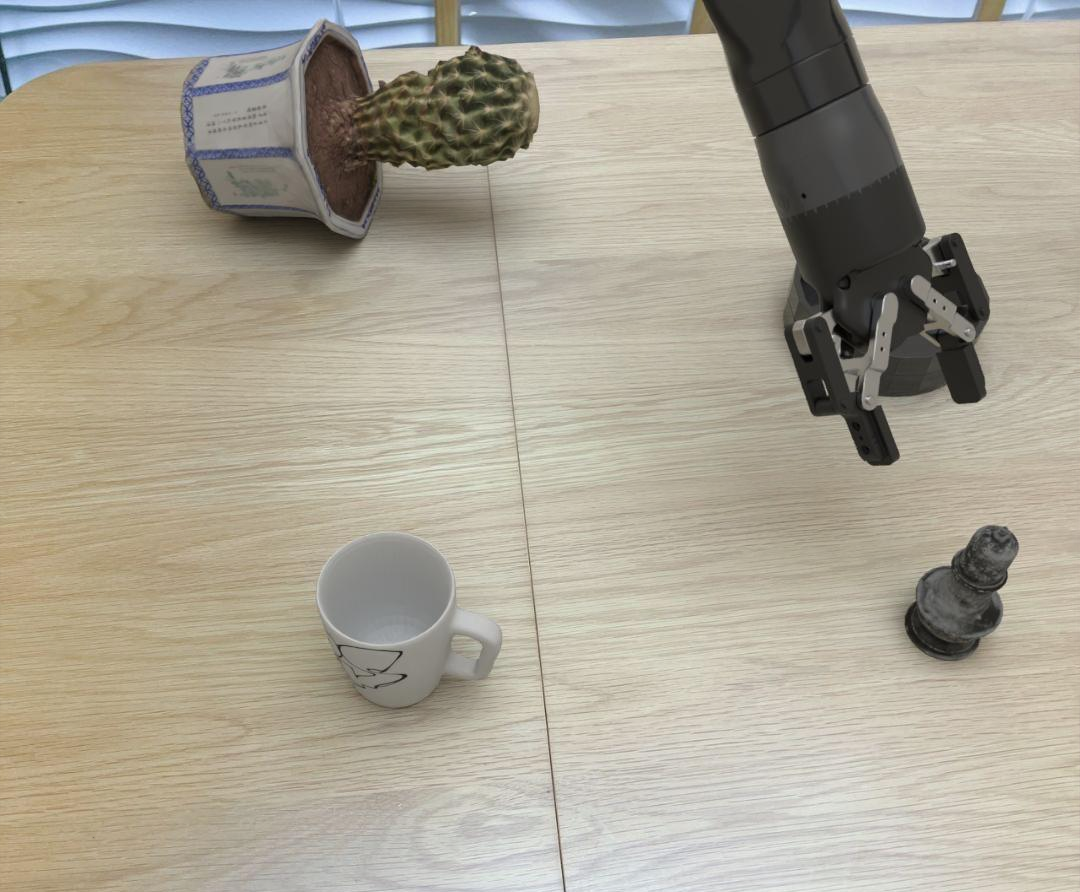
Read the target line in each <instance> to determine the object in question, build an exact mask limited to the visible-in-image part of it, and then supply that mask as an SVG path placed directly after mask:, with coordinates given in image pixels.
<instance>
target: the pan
mask: <svg viewBox="0 0 1080 892" xmlns="http://www.w3.org/2000/svg"><path fill="white" fill-rule="evenodd" d="M928 239H929V237H925V236H923V238H922V239H921V240H920V241H919V244H920V243H921V242H922V241H924V240H928ZM976 275H977V277H978V280H979V282H980V285H981V287H982V290H983V293H984V295H985V298H986V300H987V303H988V305H989V306H990V305H991V304H990V302H991V301H990V295H989V293H988V291H987V288H986V286H985V284H984V282H983V280H982V278H981V276H980V275H979V273H977V272H976ZM931 286H932V288H933V285H932V283H931ZM933 289H934V288H933ZM956 293H957V295H958V298H959V300H960V303H961V305H962V306H964V305H967V303H966V301H965V298H964V296H963V293H962V292H961V291H958V290H957V291H956ZM818 313H820V302H819V295H818V293H817V291H816V290H815V288H814V287H813V286H811V285H810V284H809V283H807V282H806V281H805V280H804V279H803V278H802V275H801V273H800V270H799V267H798V265H797V262H796V261H795V266H794V269H793V272H792V277H791V280H790V284H789V287H788V290H787V294H786V299H785V303H784V308H783V313H782V315H783V316H782V320H783V328H785V326H786V325H787V324H788V323H790V322H795V321H800V320H805V319H808V318H810V317H812V316H814V315H816V314H818ZM989 319H990V317H989V318H988V319H987V320H986V321H981V322H979V324H978V325H977V327H976V328H975V331H976V335H975V338H974V340H973V341H972V342H973V345H974V348H976V346H977V344H978V343H979V340H980V338H981V336H982V334H983V333H984V330H985V328H986V326H987V324H988V322H989ZM833 334H834V333H833ZM834 345H835V343H834ZM939 350H941V346H940V347H938V346H936V345H934V344H933V343H932V342H930V341H929V340H927V339H926V338H925V337H923V336H922V335H920V334H918V335H914V336H910V337H907V339H906V340H905V341H904V342H903V343H902V345H901V346H900V347H898V348H897V349H895V350H894V351H891V352H889V360H888V366H887V369H886V370H885V371H884V372H883V373H882V374H881V376H880V383H879V391H878V396H882V397H910V396H911V397H912V396H916V395H917V396H918V395H922V394H923V395H924V394H926V393H930V392H933V391H936V390H937V389H941V388H943V387H944V386H947V384H946V381H945V378H944V375H943V373H942V370H941V367H940V364H939V361H938V359H937V356H936V352H938V351H939ZM864 355H866V354H864V353H861V352H859V351H858V350H856V349H855V353H854V358H858V357H863V356H864ZM859 377H860V375H859V376H858V377H857V380H856V387H855V391H858V385H859Z"/></svg>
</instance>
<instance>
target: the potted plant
mask: <svg viewBox="0 0 1080 892" xmlns="http://www.w3.org/2000/svg"><path fill="white" fill-rule="evenodd" d="M534 75H535V74H534V72H532V71H528V72H525V70H524V69H523V67H522V65H521V64H520V63H519V62H518V61H517V59H516V58H511V57H506V56H503V55H501V54H500V55H499V54H495V53H490V52H487V51H483V50H482V49H481V48H480V47H479V46H476V45H473V44H471V45H470V46H469V48H468V50H466V51H464V55H456V56H454V57H451V58H450V59H448V60H439V61H438V62H437V63H436V65H435V67H433V68H430V69H429V70H427V75H425V74H423V73H421V72H418V71H416V70H411V71H408V72H405V73H401V74H399V75H398V76H397V77H396V78H394V79H393V80H391V81H390V82H388V83H387V82H386V81H385V80H383V79H380V80H377V82H378V88H377V89H376V90H375V91H374V87H373V83H372V81H371V77H370V74H369V71H368V67H367V64H366V62H365V58H364V55H363V52H362V50H361V46H360V44H359V41H358V40H357V39H356V38H355V37H354V35H353V34H352V33H351V32H349V31H348V30H347V28H345V27H343V26H342V25H340V24H338V23H336V22H333V21H330V20H329V19H328V18H326V17H325V18H319V19H318V20H317V21H316V22H315V23H314V25H313V26H312V27H311V28H310V29H309V31H308V32H307V33H306V34H305V36H304V37H303V38H301V39H299V40H297V41H294V42H292V43H288V44H285V45H281V46H278V47H273V48H268V49H260V50H255V51H251V52H242V53H241V52H240V53H233V54H221V55H215V56H209V57H205V58H203V59H201V60H199V61H198V62H197V63H195V64H194V65H193V66H192V67H191V69H190V71H189V73H188V74H187V76H186V77H185V79H184V80H183V85H182V88H181V92H180V106H179V107H180V108H179V111H180V113H179V114H180V124H181V129H182V134H183V141H182V143H183V148H184V153H185V155H184V163H185V165H186V167H187V169H188V171H189V173H190V176H192V178H193V180H194V181H195V183H196V186H197V188H198V192H199V193H200V196H201V199H202V200H203V202H204V204H206V206H207V207H208V208H209V209H210V211H213V212H217V213H222V214H225V215H229V216H230V215H231V216H236V217H260V218H261V217H263V218H264V217H265V218H272V217H274V218H276V217H277V218H278V217H288V218H290V217H294V218H312V219H317V220H319V221H321V222H322V223H323V224H324V225H325V226H326V227H327V228H329V229H330V230H331V231H332V232H334V233H337V234H340V235H343V236H345V237H350V238H352V239H358V240H359V239H362V238H364V237H365V236H366V235H367V233H368V230H369V228H370V225H371V222H372V221H373V220H374V216H375V215H374V214H375V211H376V210H378V207H379V204H380V199H381V195H382V191H383V179H384V178H383V177H384V176H383V164H386V163H389V164H390V165H391V166H392V167H394V168H398V169H399V168H400V166H402V165H404V164H405V163H407V164H409V165H410V166H412V168H414V169H415V168H418V167H422V168H424V169H425V170H426V172H431V171H438V170H445V169H449V168H450V167H452V166H455V167H467V166H470V165H471V166H475V167H477V166H479V165H480V166H481V167H488V166H489V165H491V164H494V163H496V162H506V161H507V160H509V159H514V157H515V156H516V153H517V151H518V150H520V149H521V150H525V151H527V150H528V149H529V148H530V144H531V143H533V142H534V135H535V134H536V133H537V132H538V129H539V122H540V112H541V107H540V97H539V91H538V87H537V83H536V79H535V76H534Z"/></svg>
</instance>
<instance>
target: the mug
mask: <svg viewBox="0 0 1080 892" xmlns="http://www.w3.org/2000/svg"><path fill="white" fill-rule="evenodd" d="M456 583H457V582H456V577H455V574H454V571H453V568H452V566H451V564H450V562H449V561H448V559H447V557H446V556H445V554H444V553H442V552H441V550H440V549H438V548H437V547H436V546H434V545H433V544H432V543H431V542H429V541H427V540H426V539H423V538H422V537H419V536H416V535H414V534H411V533H407V532H400V531H378V532H373V533H369V534H365V535H362V536H358V537H357V538H354V539H352V540H350V541H349V542H347V543H345V544H343V545H342V546H341V547H339V548H338V549H337V550H336V551H335V552H334V553H333V554H332V555H331V556H330V557H329V559H328V560H327V561H326V562H325V564H324V566H323V567H322V569H321V571H320V573H319V575H318V579H317V582H316V585H315V603H316V608H317V612H318V616H319V618H320V621H321V623H322V626H323V629H324V632H325V634H326V636H327V639H328V642H329V644H330V647H331V649H332V651H333V654H334V656H335V658H336V659H337V661H338V663H339V665H340V666H341V668H342V669H343V671H344V672H345V674H346V675H347V677H348V679H349V680H350V682H351V683H352V685H353V686H354V688H355V689H356V691H358V692H359V694H360V695H361V696H362V697H364V699H366V700H367V701H369V702H371V703H373V704H375V705H377V706H380V707H386V708H404V707H409V706H412V705H415V704H417V703H419V702H421V701H423V700H424V699H425V698H428V696H430V695H431V693H432V692H434V690H435V689H436V688H437V686H438V685H439V683H440V681H441V679H442V677H443V676H444V675H448V676H451V677H455V678H458V679H463V680H468V681H482V680H485V679H486V678H488V677H489V675H490V674H491V673H492V670H493V667H494V664H495V662H496V659H497V658H498V657H499V654H500V652H501V649H502V645H503V631H502V628H501V626H500V625H499V624H498V623H497V622H496V621H495V620H494V619H492V618H490V617H488V616H486V615H484V614H481V613H478V612H474V611H471V610H467V609H463V608H460V607H459V606H458V603H457V585H456ZM454 636H461V637H467V638H470V639H473V640H474V641H476V642H478V643H479V644H480V645H481V647H482V648H481V650H480V653H479V656H478V658H469V657H465V656H462V655H461V654H458V653H456V652H455V651H454V649H453V647H452V642H453V637H454Z"/></svg>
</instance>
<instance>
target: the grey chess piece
mask: <svg viewBox="0 0 1080 892" xmlns="http://www.w3.org/2000/svg"><path fill="white" fill-rule="evenodd" d="M1019 550H1020V543H1019V541H1018V538H1017V537H1016V535H1015V533H1013V532H1012V531H1011V530H1010V529H1009V527H1008V526H1002V525H997V524H987V525H984V526H982V527H980V528H978V529H976V531H975V532H974V533H973V534H972V536H971V537H970V540H969V541H968V543H967V545H966V546H965V547H964V548H961V549H959V550H958V551H956V552H955V553H954V555H953V556H952V559H951V561H950V565H941V566H937V567H932V568H931V569H930V570H928V571H926V572H924V574H923V575H922V576H921V577H920V578H919V580H918V581H917V585H916V587H915V601H913V602H912V603H911V605H910V606H908V608H907V610H906V613H905V614H904V628H905V632H906V634H907V636H908V637H909V640H910V641H911V642H912V643H913V644H914V645H915V646H916V647H917V648H918V649H919V650H920V651H921V652H923V653H924V654H925V655H928V656H930V657H932V658H934V659H937V660H941V661H945V662H948V661H950V662H951V661H953V662H957V661H960V660H963V659H966V658H968V657H970V656H971V655H973V654H974V653H975V651H976V650H977V649H978V648H979V645H980V642H981V638H984V637H987V636H988V635H990V634H991V633H993V632H995V630H996V629H998V627H999V626H1000V624H1001V622H1002V620H1003V616H1004V604H1003V601H1002V598H1001V596H1000V594H999V592H998V591H999V590H1001V589H1002V588H1003V587H1004V586H1005V585H1006V584H1007V582H1008V578H1009V573H1008V570H1009V568H1010V566H1012V563H1013V562H1014V560H1015V559H1016V557H1018V556H1017V555H1018V553H1019Z"/></svg>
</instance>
